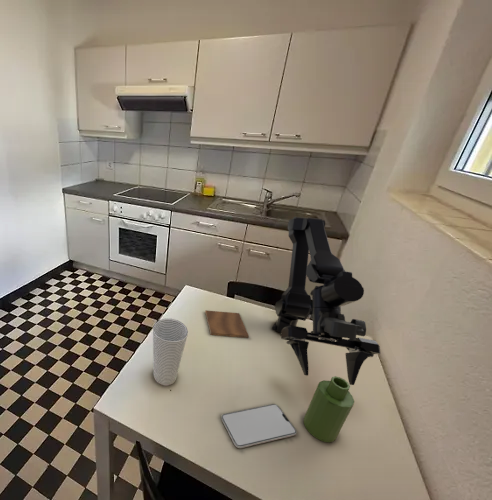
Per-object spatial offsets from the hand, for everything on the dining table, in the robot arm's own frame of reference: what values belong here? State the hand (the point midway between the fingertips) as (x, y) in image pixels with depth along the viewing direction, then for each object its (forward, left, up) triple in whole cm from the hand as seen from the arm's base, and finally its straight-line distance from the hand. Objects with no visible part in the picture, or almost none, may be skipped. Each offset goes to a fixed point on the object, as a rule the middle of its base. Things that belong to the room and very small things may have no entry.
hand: (328, 379), depth 62 cm
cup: (+18, -31, -11) cm, 38 cm away
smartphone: (+13, -8, -11) cm, 19 cm away
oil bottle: (+3, +2, -11) cm, 11 cm away
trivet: (-14, -31, -11) cm, 36 cm away
